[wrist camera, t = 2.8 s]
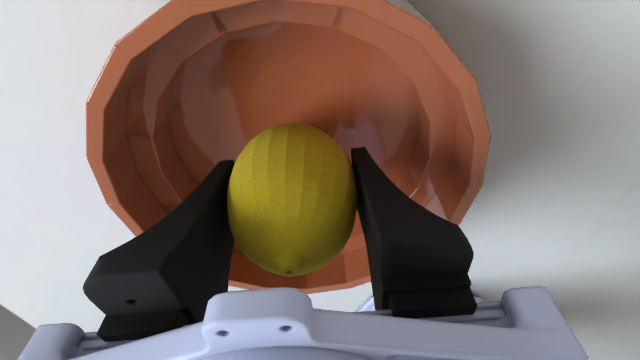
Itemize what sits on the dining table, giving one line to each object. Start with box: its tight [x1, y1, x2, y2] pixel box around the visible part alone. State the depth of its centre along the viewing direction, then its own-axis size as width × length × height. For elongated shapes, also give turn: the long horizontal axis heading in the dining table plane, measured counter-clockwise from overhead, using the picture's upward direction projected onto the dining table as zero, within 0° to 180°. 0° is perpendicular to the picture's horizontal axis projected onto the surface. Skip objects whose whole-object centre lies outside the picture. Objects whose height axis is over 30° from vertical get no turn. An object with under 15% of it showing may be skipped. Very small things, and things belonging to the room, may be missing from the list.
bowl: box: [86, 0, 491, 294], centre depth 16 cm, size 16×16×4 cm
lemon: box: [227, 123, 358, 277], centre depth 14 cm, size 6×6×8 cm
